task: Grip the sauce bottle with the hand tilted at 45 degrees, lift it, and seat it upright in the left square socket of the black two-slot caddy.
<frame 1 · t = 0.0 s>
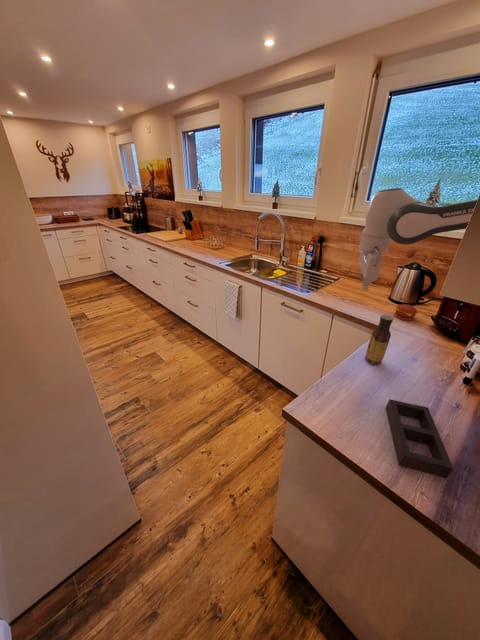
hand: (363, 284, 91), 31 cm above the worktop, tool pointing down, fingers open, 8 cm apart
caddy: (412, 438, 73), on the worktop
hamburger: (403, 317, 139), on the worktop
sauce bottle: (372, 361, 104), on the worktop
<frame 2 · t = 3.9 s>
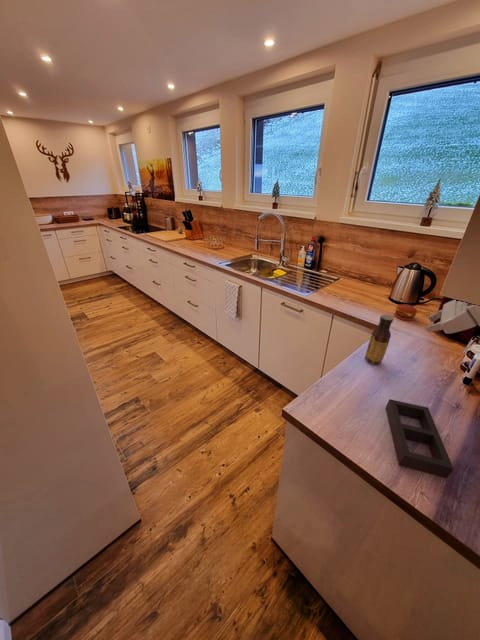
hand: (428, 324, 87), 22 cm above the worktop, tool tilted 45°, fingers open, 8 cm apart
nothing on the worktop moved.
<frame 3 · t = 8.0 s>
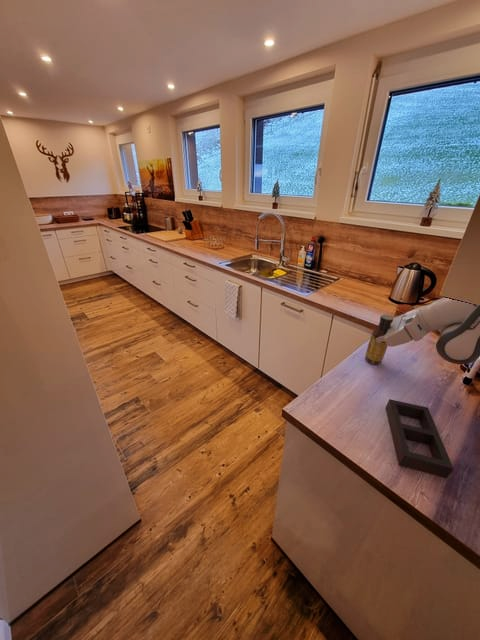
hand: (378, 336, 99), 11 cm above the worktop, tool tilted 45°, fingers closed on sauce bottle, 6 cm apart
sauce bottle: (372, 361, 104), on the worktop, touching gripper
everything else where it was.
when the fingers open (12 cm above the worktop, at t = 19.5 s): sauce bottle stays where it is, resting in caddy.
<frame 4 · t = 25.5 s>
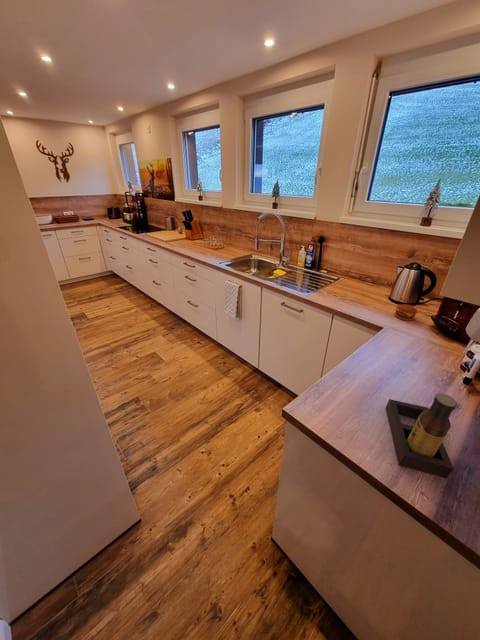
sauce bottle: (416, 453, 69), resting in caddy
everything else where it was.
at the end: sauce bottle 0.1 cm from the target spot in the caddy, point 0.0 cm above the caddy's base; sauce bottle tilted 1°; the gripper is holding nothing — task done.
